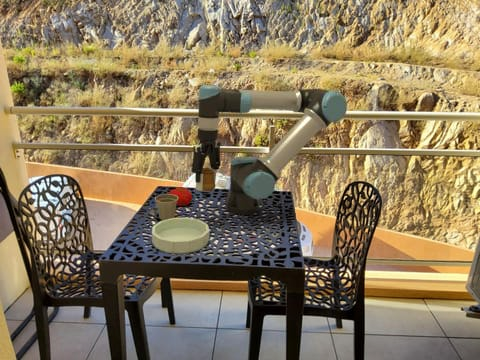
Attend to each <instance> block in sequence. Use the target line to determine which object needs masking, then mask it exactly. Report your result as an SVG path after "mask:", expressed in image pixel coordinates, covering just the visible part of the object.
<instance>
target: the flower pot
mask: <svg viewBox="0 0 480 360" xmlns="http://www.w3.org/2000/svg"><path fill="white" fill-rule="evenodd" d="M177 200H178V196H176V195H172V194H169V193H165V194H164V193H163V194H159V195H157V196H155V197H154V201H155V204H156V205H157V211H158V217H159V219H160V221H163V220H167V219H171V218H176V209H177V205H176V203H177Z"/></svg>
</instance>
